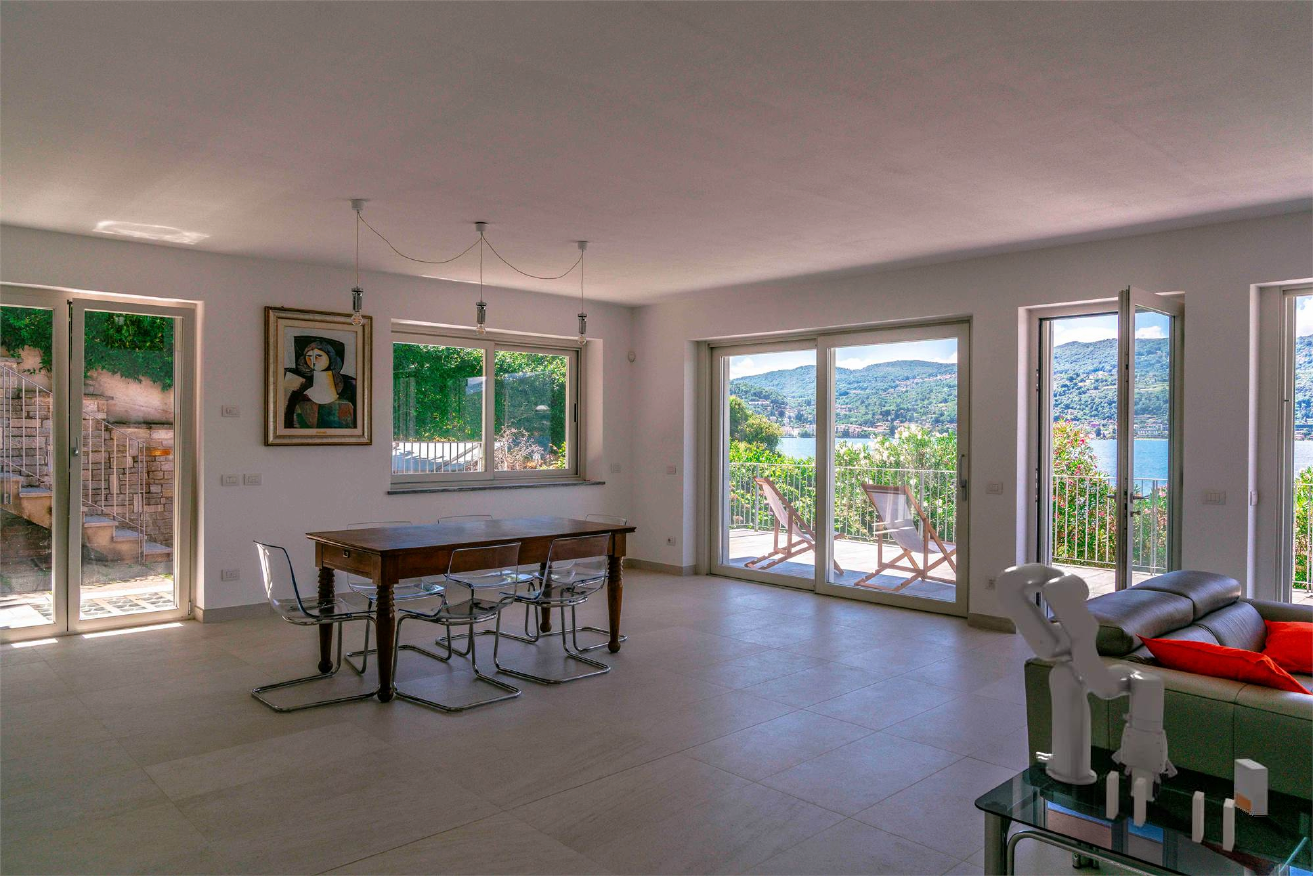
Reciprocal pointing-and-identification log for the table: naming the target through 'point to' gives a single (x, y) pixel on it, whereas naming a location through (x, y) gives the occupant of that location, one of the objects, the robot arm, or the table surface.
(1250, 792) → the skincare box
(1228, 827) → the domino
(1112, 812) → the domino
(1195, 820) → the domino
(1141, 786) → the domino
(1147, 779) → the domino
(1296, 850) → the table surface
